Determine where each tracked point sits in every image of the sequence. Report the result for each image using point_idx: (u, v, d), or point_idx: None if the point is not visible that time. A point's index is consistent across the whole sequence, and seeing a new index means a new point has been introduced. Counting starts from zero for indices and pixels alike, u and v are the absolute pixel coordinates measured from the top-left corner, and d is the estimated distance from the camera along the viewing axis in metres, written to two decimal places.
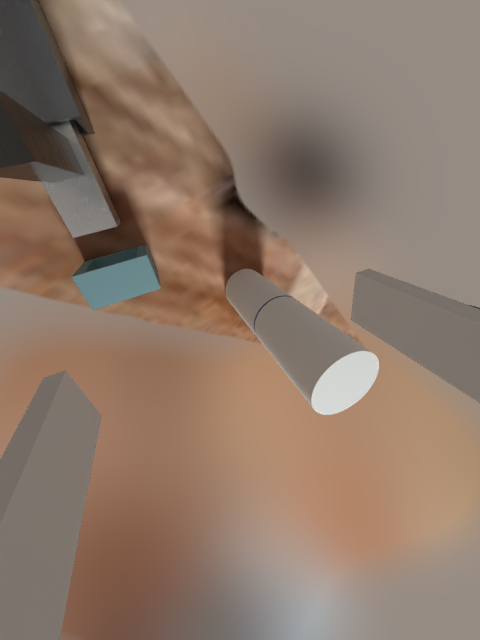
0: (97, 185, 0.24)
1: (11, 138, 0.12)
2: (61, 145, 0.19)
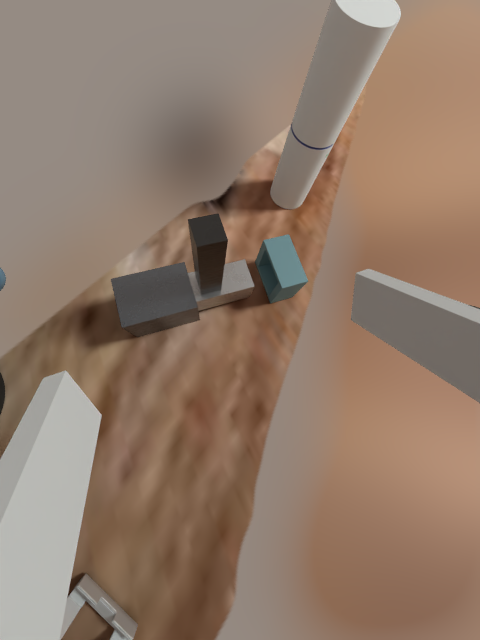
0: None
1: (209, 219, 0.22)
2: None
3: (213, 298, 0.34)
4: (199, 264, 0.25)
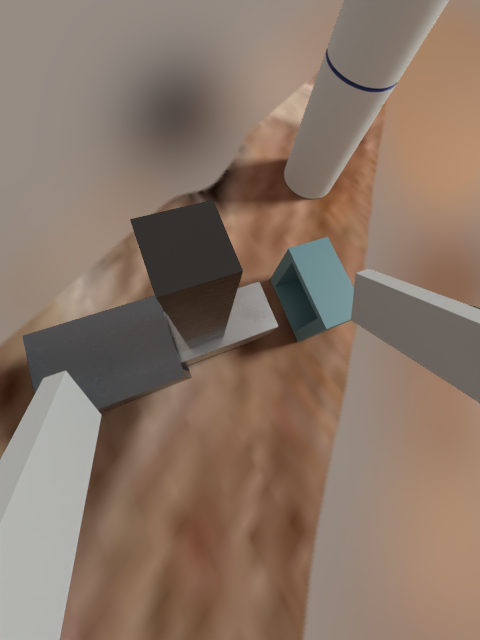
0: None
1: (189, 216, 0.08)
2: None
3: (212, 351, 0.20)
4: (175, 322, 0.11)
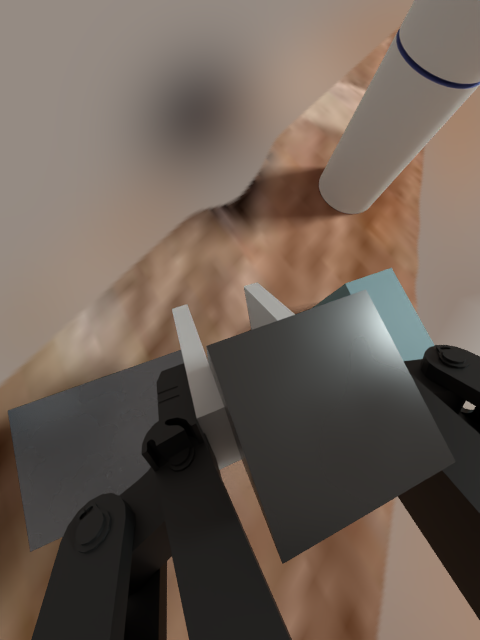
0: None
1: (326, 331, 0.04)
2: None
3: None
4: None
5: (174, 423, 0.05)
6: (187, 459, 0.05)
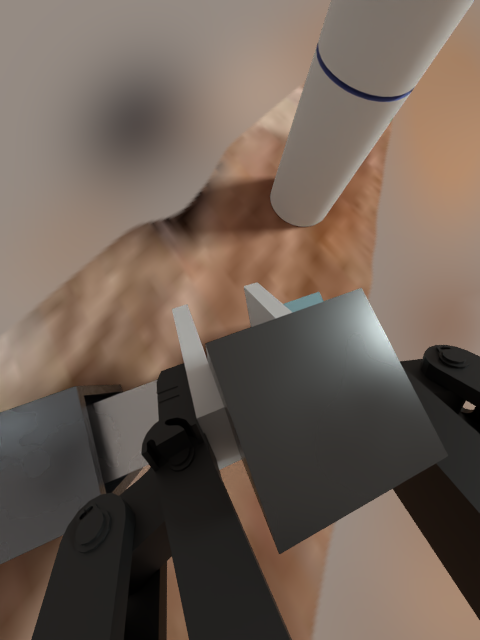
0: None
1: (322, 329, 0.04)
2: None
3: None
4: None
5: (174, 423, 0.05)
6: (187, 459, 0.05)
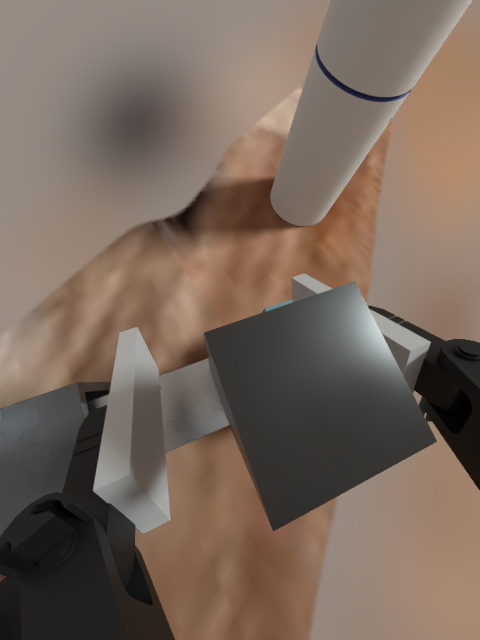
0: None
1: (317, 320, 0.04)
2: None
3: None
4: None
5: (47, 507, 0.04)
6: (65, 550, 0.04)
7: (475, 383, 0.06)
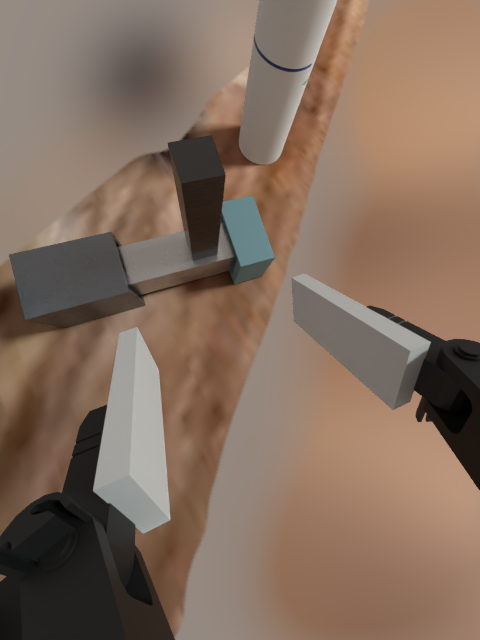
0: None
1: (198, 143, 0.16)
2: None
3: (208, 265, 0.28)
4: (187, 214, 0.18)
5: (47, 507, 0.04)
6: (65, 550, 0.04)
7: (475, 383, 0.06)
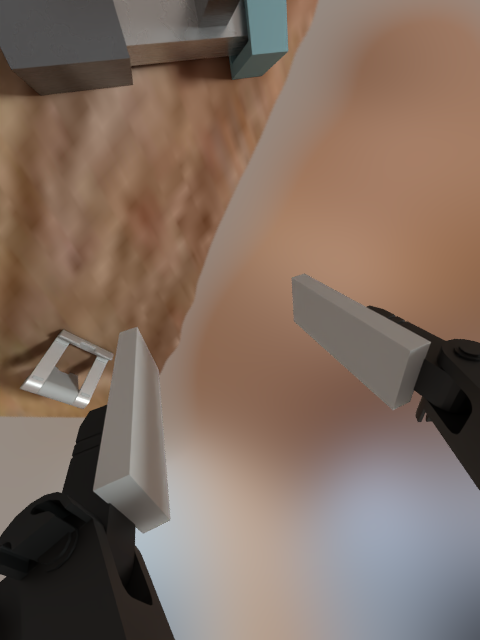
0: None
1: None
2: None
3: (215, 41, 0.25)
4: None
5: (48, 506, 0.04)
6: (66, 550, 0.04)
7: (475, 383, 0.06)
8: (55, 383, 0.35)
